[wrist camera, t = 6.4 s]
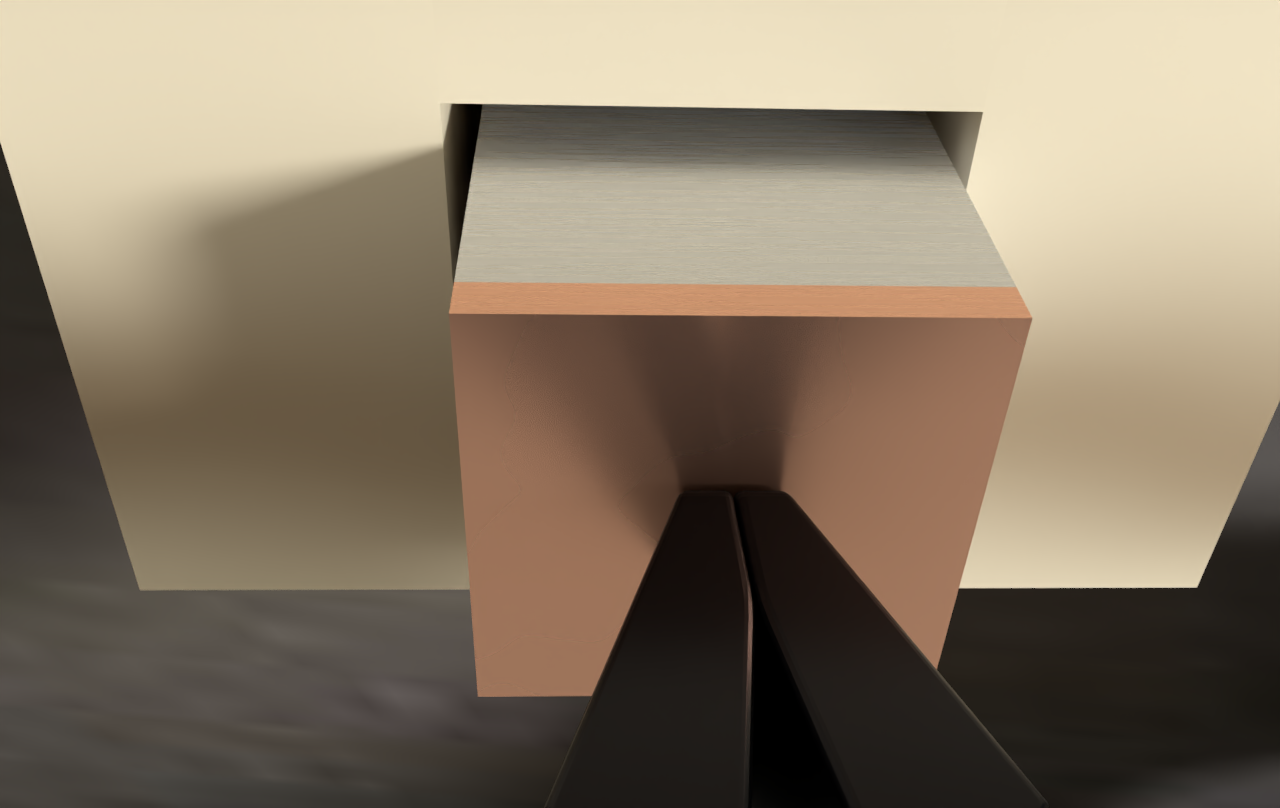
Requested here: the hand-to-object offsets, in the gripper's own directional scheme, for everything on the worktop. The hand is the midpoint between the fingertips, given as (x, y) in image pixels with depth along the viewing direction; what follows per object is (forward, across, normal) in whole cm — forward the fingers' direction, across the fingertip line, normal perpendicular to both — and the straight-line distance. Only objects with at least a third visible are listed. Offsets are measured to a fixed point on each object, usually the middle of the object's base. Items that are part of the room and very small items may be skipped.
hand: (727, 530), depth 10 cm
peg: (+6, 0, 0) cm, 6 cm away
